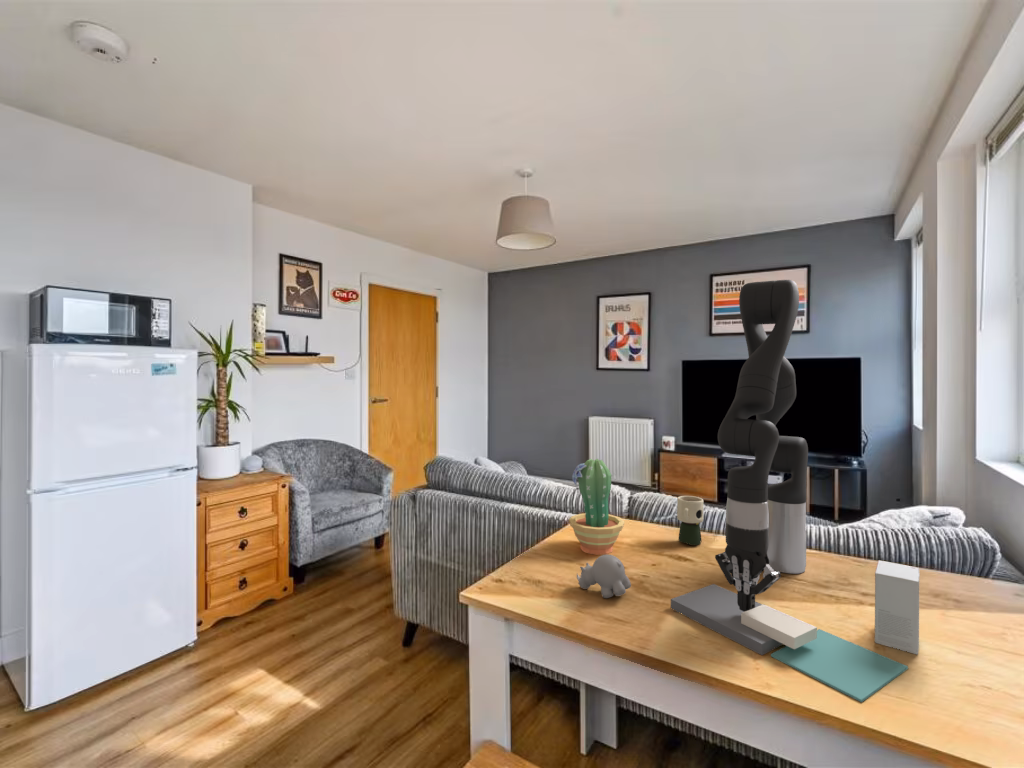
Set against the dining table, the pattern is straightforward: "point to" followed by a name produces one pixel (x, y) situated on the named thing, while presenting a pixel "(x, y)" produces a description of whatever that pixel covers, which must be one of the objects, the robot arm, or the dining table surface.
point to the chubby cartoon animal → (605, 576)
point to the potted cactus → (595, 509)
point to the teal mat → (842, 665)
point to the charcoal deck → (722, 616)
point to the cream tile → (779, 626)
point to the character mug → (690, 519)
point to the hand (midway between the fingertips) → (745, 610)
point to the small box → (897, 606)
